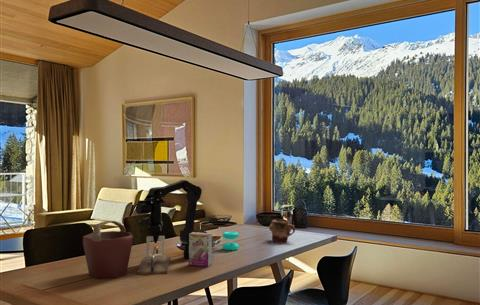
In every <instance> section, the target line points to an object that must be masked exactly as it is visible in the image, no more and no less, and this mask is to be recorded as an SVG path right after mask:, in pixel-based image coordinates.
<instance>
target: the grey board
mask: <svg viewBox="0 0 480 305" xmlns="http://www.w3.org/2000/svg"><path fill="white" fill-rule="evenodd" d="M170 262H171V256H169V255H168V256H167V255H165V258H164V259H154V271H151V259H146V256H144V257H143V258H142V261H141V263H140V265H139V267H138V269H137V271H136V273H137V274H136V275H158V274H159V275H160V274H161V275H162V274H165V275H167V274H168V270H169V267H170Z"/></svg>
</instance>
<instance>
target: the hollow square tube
mask: <svg viewBox="0 0 480 305" xmlns="http://www.w3.org/2000/svg"><path fill="white" fill-rule="evenodd" d="M165 240H166V236H165V235H159V238H158V240H157V242H161V249H160V251H161V253H158V254H156V253H155V256H154V259H164V258H165V256H166V255H165V254H166V252H165V250H166V249H165V248H166V246H165V244H166V243H165V242H166V241H165ZM151 242H154V239H153V235H148V236H147V235H146V256H145V257H146V259H151V257H152V255H153V253H151Z"/></svg>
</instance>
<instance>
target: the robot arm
mask: <svg viewBox="0 0 480 305" xmlns="http://www.w3.org/2000/svg"><path fill="white" fill-rule="evenodd" d="M179 190H183V191H184V192H185V193H186V194H185V195H186V199H187V207H186V208H187V209H186V215H185V223H184V227H183V229H180V231H179V232H180V233H179V236H178V238H179V240H180V243H181V244H182V246H183V247H184V248H183V257H184V259H185V260H187V259H188V260H189V233H192V232H195V222H196V214H197V208H198V207H197V206H198V202H199V200H200V199H201V196H202V192H203V189H202V188H201V187H200V186H198V185H195V184H194V183H191V182H190V181H188V180H187V179H180V180H179V181H176V182H172V183H171V184H167V185H165V186H155V187H150V188H149V189H148V192H147V194H146V195H145V197H144V199H143V200H140V199H139V200H137V203H136V204H135V213H136V214H138V215H142V214H149V216H148V217H145V218H144V217H143V218H140V220H138V224H139V226H140V228H144V226H147V225H148V227H147V228H148V229H147V231H148V232H150V233H151V234H152V235H151V236H153V239H154V241H153V243H154V244H157V243H158V241H157V240H158V238H159V236H161V235H160V234H161V232H162V229H163V226H164V223H163V221H162V216H163V215H162V204H165V203H166V201H165V200H163V198H165V197H166V196H167V195H169V194H171V193H174V192H176V191H179Z"/></svg>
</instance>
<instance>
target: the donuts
mask: <svg viewBox="0 0 480 305" xmlns="http://www.w3.org/2000/svg"><path fill="white" fill-rule="evenodd" d="M239 235H240V234H239V232H236V231H225V232H223V233H222V234H221V236H222V238H223V239H225V240H236V239H238V238H239V237H240V236H239ZM221 248H222V249H223V250H224V251H230V250H232V251H237V250H238V249H239V248H240V245H239V244H238V243H236V242H225V243H223V244H222V246H221Z"/></svg>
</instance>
